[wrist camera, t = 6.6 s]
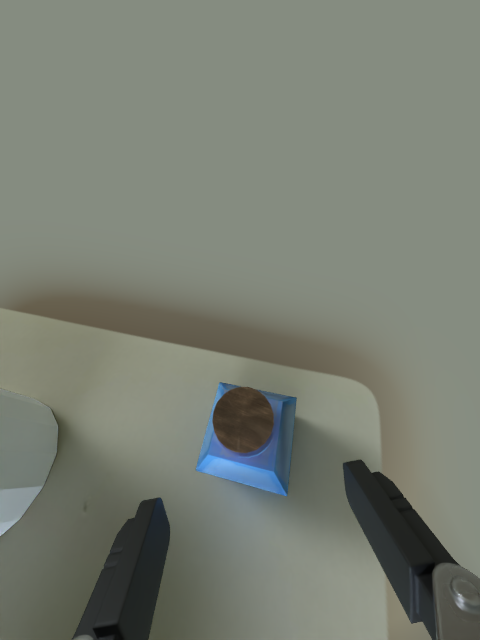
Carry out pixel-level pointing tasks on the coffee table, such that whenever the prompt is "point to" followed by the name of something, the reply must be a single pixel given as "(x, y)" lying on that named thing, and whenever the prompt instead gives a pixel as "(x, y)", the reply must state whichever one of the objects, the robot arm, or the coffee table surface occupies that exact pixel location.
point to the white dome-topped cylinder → (23, 453)
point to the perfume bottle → (249, 438)
